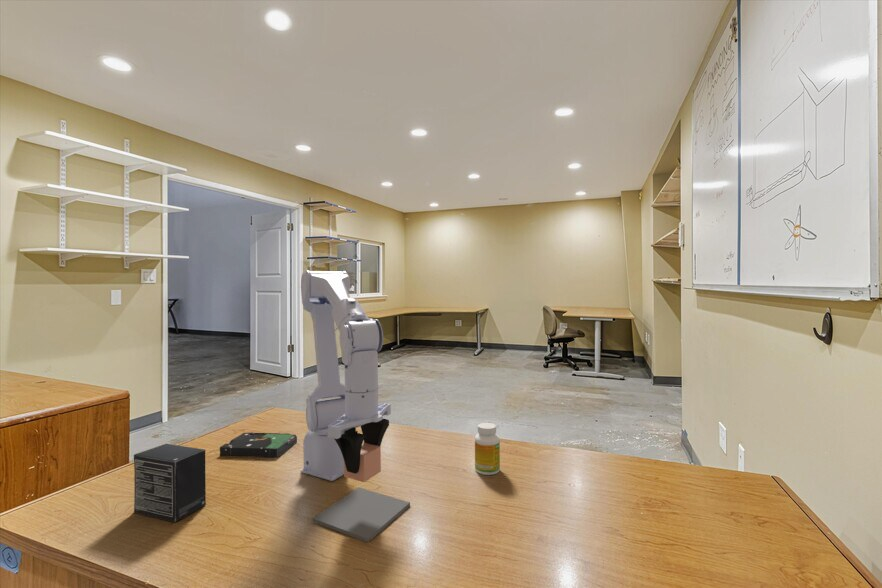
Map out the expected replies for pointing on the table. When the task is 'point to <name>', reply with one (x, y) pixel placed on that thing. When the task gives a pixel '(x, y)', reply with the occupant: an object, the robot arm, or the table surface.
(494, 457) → the supplement bottle
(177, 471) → the small box
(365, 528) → the mat
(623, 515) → the table surface
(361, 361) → the robot arm
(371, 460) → the cube
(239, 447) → the disk drive
